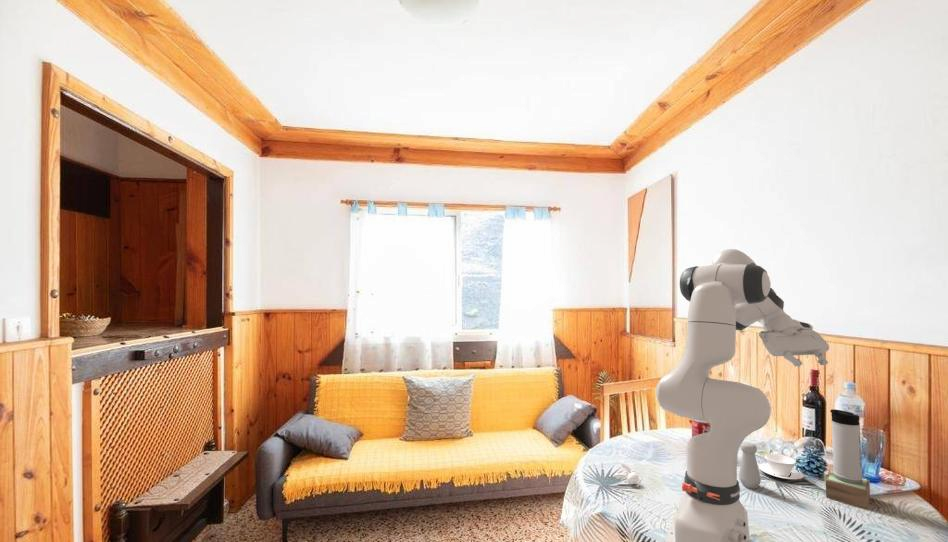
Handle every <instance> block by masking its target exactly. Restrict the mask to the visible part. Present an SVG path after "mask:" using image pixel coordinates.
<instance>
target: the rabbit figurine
mask: <svg viewBox="0 0 948 542" xmlns="http://www.w3.org/2000/svg"><path fill="white" fill-rule="evenodd" d="M620 463H621V466H622V468H623V469H624V471H626V472H627V473H615V474H613V477H614V478H616V479H625V478H626V480H625V481H624V484H626V483H628V484H629V485H634V484H635V486H636V487H637V488H639V486H641V482H642V478H641V477H639V475H638V474H637V473H636V472H634V471H632V470H631V468H630V466H628V464H627V463H626V462H624V461H623V460H620Z"/></svg>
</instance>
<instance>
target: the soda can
mask: <svg viewBox="0 0 948 542" xmlns="http://www.w3.org/2000/svg"><path fill="white" fill-rule="evenodd" d="M692 420H693V421H692V422H691V438H692V437H694V436H696V435H699V434H703V433H707V432H710V430H711V425H710V423H707V422H704V421H700V420H695V419H692Z"/></svg>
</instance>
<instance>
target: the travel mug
mask: <svg viewBox="0 0 948 542" xmlns="http://www.w3.org/2000/svg"><path fill="white" fill-rule="evenodd" d="M830 414H831V415H830V416H831V441H832V462H833V463H832V464H833V471H834V477H835V478H837V479H838V480H840V481H843V482H846V483H851V484H861V483H862V478H863V464H862V463H863V462H862V446H861V445H862V444H861V441H862V440H861V439H862V438H861V427H860V426H861V423H860V415H858V414H855V413H853V412H850V411H846V410H841V409H833V408H832V409H830Z"/></svg>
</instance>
